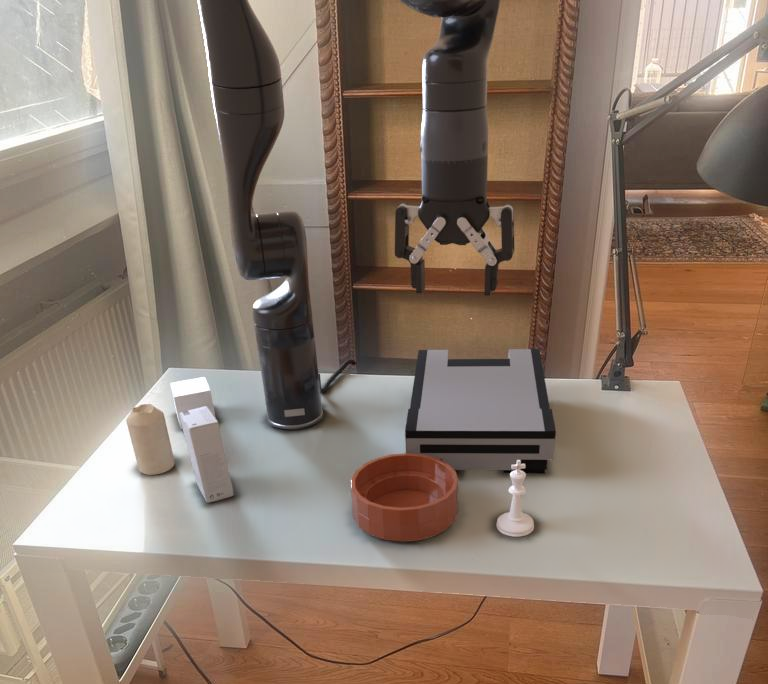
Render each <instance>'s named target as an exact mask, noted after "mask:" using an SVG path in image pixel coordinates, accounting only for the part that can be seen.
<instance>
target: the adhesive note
mask: <svg viewBox="0 0 768 684" xmlns="http://www.w3.org/2000/svg"><path fill="white" fill-rule="evenodd" d="M169 386H170V390H171V395H172V399H173V403H174V408H175V413H176V417H177V420H178V425H179V428H180V430H183V427H182V423H181V419H180V413H181V412H185V411H189V410H193V409H196V408H200V407H205V406H207V407H208V409H209V410H210V412H211V413H212V414H213V416H214V417H215V418H216V419H217V417H216V412H215V407H214V402H213V397H212V391H211V388H210V386H209V383H208V381H207V378H206V376H201V377H196V378H190V379H184V380H179V381H173V382H170V383H169Z"/></svg>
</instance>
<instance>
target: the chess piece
mask: <svg viewBox="0 0 768 684" xmlns="http://www.w3.org/2000/svg"><path fill="white" fill-rule="evenodd" d="M525 466H526V465H525V464H521V461H520V460H517V462H516V464H514V465H511V468H512V469H516V470H514V471H512V472H511V473H509V478H510V480H511V484H512V485H510V486H509V488H508V493H509V494H511V495H512V498H511V504H510V509H509V511H506V512H504V513H502V514H500V515H499V516H498V517H497V520H496V525H495V526H496V529H497V530H498V531H499V532H500V533H501V534H503V535H505V536H508V537H514V538H519V537H525V536H527V535H530V534H531V533H532V532H533V531H534V529H535V522H534V518H532V517H531V515H529V514H527V513H525V512H523V509H522V508H523V507H522V495H524V494H526V487H524V486H523V485H524V481H525V479H526V478H527V473H525V472H523V471H521V470H520V469H523V468H525Z"/></svg>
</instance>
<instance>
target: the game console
mask: <svg viewBox="0 0 768 684" xmlns="http://www.w3.org/2000/svg"><path fill="white" fill-rule="evenodd" d="M544 373H545V372H544V367H543V362H542V356H541V351H540V348H509V349H508V357H507V358H449V349H418V351H417V359H416V365H415V372H414V377H413V385H412V392H411V398H410V405H409V408H408V409H407V415H406V421H405V428H404V439H405V441H404V442H405V453H412V454H423V455H427V456H431V457H435V458H438V459H440V460H442V461H444V462H446V463H447V464H449V465H450V466H451V467H452V468H453V469H454V470H455V471H502V473H503V474H510V473H511V472H512V471H514V470H516V469H512V468H511V465H514V464H516V462H517V460H520V461H521V464H525V465H526V466H525V468H523V469H520V470H521V471H523V472H525V473H526V474H538V475H539V474H540V475H541V474H546V471H547V470H548V461H553V460H554V459H555V458H554V457H555V445H556V436H557V435H556V433H557V430H556V429H557V428H556V425H555V419H554V414H553V408H551V407H550V402H549V395H548V389H547V385H546V379H545V374H544Z"/></svg>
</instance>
